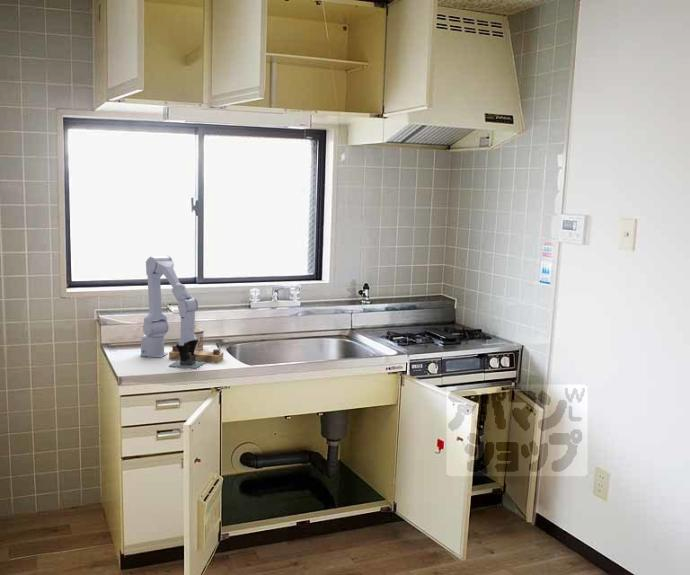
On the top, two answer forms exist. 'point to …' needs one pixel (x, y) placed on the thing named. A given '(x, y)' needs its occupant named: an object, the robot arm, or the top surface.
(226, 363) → the top surface
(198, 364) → the slate mat
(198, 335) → the teacup with lid
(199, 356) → the hand plane
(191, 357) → the lever cap
